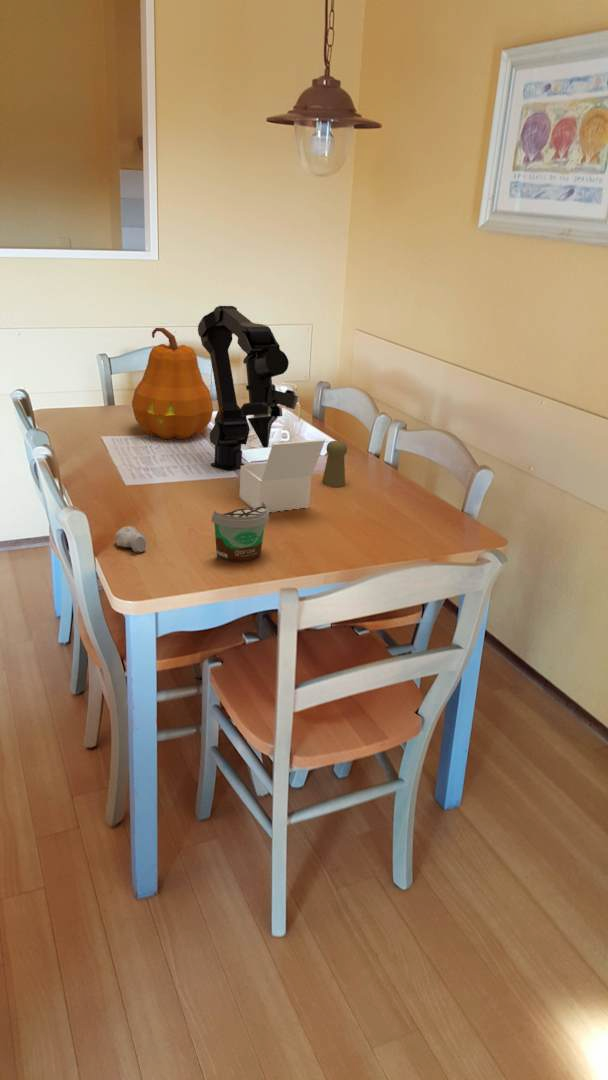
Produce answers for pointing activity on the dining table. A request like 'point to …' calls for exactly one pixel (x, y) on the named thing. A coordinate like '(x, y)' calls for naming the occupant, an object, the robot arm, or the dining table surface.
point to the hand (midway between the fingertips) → (265, 447)
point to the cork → (335, 464)
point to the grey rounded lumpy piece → (131, 539)
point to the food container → (240, 534)
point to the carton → (273, 490)
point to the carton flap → (292, 459)
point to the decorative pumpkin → (172, 392)
